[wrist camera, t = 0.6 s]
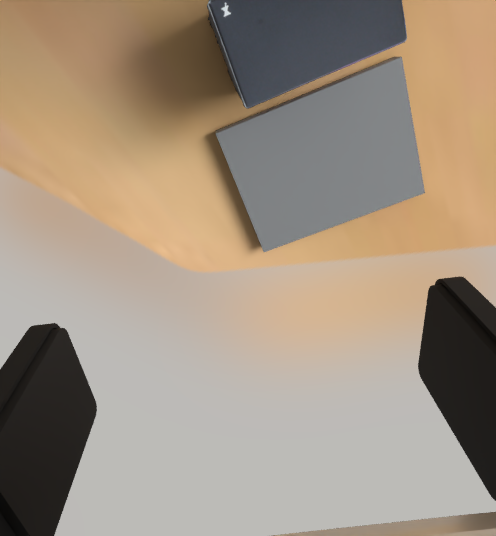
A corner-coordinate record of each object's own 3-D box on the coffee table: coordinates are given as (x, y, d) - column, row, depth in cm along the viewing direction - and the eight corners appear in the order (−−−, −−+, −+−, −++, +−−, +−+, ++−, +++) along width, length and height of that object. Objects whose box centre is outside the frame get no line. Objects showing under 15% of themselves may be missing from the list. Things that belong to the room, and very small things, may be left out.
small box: (237, 98, 34) (244, 115, 25) (206, 13, 31) (199, -3, 22) (357, 47, 33) (411, 44, 23) (337, -47, 30) (389, -92, 20)
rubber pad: (394, 56, 33) (401, 56, 32) (417, 188, 39) (424, 193, 37) (215, 130, 35) (215, 133, 34) (262, 245, 41) (263, 252, 39)
